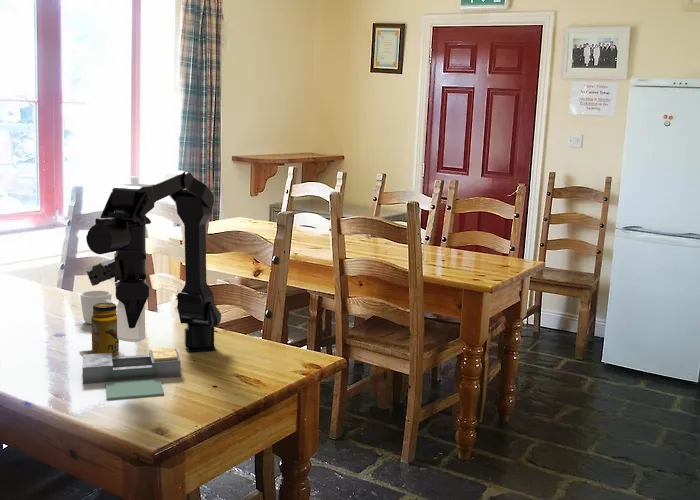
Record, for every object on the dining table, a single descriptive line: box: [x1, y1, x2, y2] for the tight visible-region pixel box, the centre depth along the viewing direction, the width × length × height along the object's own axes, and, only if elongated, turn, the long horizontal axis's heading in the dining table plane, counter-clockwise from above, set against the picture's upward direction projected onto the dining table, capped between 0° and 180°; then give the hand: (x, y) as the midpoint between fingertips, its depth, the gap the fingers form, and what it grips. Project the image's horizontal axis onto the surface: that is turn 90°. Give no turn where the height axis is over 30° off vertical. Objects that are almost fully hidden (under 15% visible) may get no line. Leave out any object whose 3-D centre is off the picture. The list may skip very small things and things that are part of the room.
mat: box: [105, 378, 165, 401], centre depth 149 cm, size 11×9×1 cm
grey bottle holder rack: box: [81, 347, 182, 385], centre depth 159 cm, size 20×9×4 cm, turn 109°
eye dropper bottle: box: [116, 301, 146, 343], centre depth 149 cm, size 4×6×12 cm
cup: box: [79, 290, 114, 325], centre depth 196 cm, size 11×8×8 cm
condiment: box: [78, 302, 125, 357], centre depth 170 cm, size 7×8×12 cm
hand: (131, 322), depth 149 cm, fingers closed on eye dropper bottle, 8 cm apart
